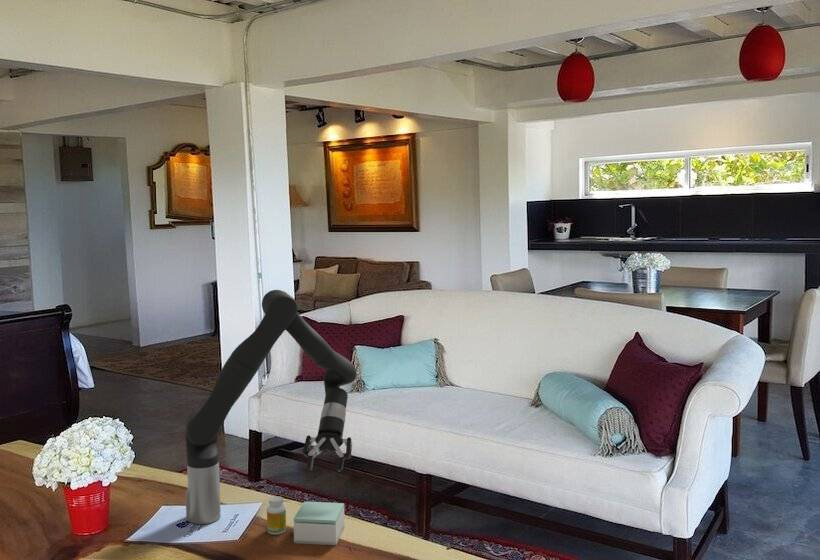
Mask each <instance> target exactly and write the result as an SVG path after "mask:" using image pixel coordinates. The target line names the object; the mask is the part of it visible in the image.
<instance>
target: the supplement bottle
mask: <svg viewBox="0 0 820 560" xmlns="http://www.w3.org/2000/svg"><path fill="white" fill-rule="evenodd" d="M268 504H269V505H268V506H267V508H266V524H267V525H266V526H267V527H266V529H267V533H268V534H269V535H281V534H282V535H283V533H285V532H286V531H287V514H286V513H287V512H286V511H287V509H286V508H287V507H286V505H285V503H284V498H283V496H277V495H276V496H271V497H270V498H268Z"/></svg>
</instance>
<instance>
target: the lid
mask: <svg viewBox="0 0 820 560" xmlns="http://www.w3.org/2000/svg"><path fill="white" fill-rule="evenodd" d="M343 507H344V508H345V503H343V502H326V501H325V502H323V501H321V502H320V501H303V503H302V504H301V506H300V508H299V509H298V511H297V512H296V513H295V516H294V517H293V522H294V521H297V522H318V523H336V522H337V520H338V518H339V516H340V514H341V512H342V510H343Z"/></svg>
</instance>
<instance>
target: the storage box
mask: <svg viewBox="0 0 820 560" xmlns="http://www.w3.org/2000/svg"><path fill="white" fill-rule="evenodd" d="M344 528H345V506H344V507H343V510H342V512H341V514H340V516H339V518H338V520H337V522H336V523H318V522H297V521H294V520H293V544H300V545H301V544H304V545H319V546H320V545H322V546H326V545H327V546H337V545H338V542H339V539H340V537H341V535H342V533H343V531H344Z"/></svg>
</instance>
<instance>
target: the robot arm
mask: <svg viewBox="0 0 820 560" xmlns="http://www.w3.org/2000/svg"><path fill="white" fill-rule="evenodd" d="M261 308H262V311H263V313H264V316H263V318H261V321H260V322H259V324H258V326H257V327H256V329H255V330H254V331H253V332H252V334H250V335H249V336H248V337H246V338H245V339H244V340H243V341H241V343H240V344H238V345H237V347H235V349H234V350H233V351H232V352H231V354H230V355H229V357H228V359H227V360H226V361H225V364H224V363H223V364H224V365H223V366H222V368H221V370H220V372H219V374H218V376H217V378H216V381H215V383H214V386H213V389H212V391H211V392H210V395H209V397H208V398H207V400H206V401H205V403H204V404H203V405H202V407H199V408H196V409H194V410H192V411H191V412H190V413H189V414H188V415H187V418H186V419H185V444H186V445H185V446H186V449H185V451H186V453H185V454H186V465H187V466H186V469H187V470H186V471H187V473H186V474H187V488H186V489H185V517H186V520H185V521H186V522H191V524H194V525H195V524H196V525H206V524H211V523H214V522H216V521H218V520H219V519H220V518H221V486H220V485H221V484H220V483H221V480H220V456H219V455H220V453H219V452H220V451H219V440H218V436H219V435H218V434H219V432H220V430H221V428H222V426H223V424H224V422H225V420H226V418H227V416H228V415H229V413H230V411H231V409H232V408H233V406H234V405H235V403H237V401H238V400H239V399H240V397H241V396H242V394H243V393H244V392H245V390H246V388H247V387H248V385H249V384H250V383H251V381H252V380H253V378H254V377H255V375H256V374H257V373H258V372H259V369H260V368H261V365H263V363H264V361H265V359H266V358H267V356H268V355H269V353H270V352H271V350H272V348H273V347H274V345H275V344H276V343H277V341H278V339H280V337H281V336H282V334H283V333H284V332H285V331H286V332H287V333H288V334H289V335H290V336H291V337H292V338H293V340H294V341H295V342H296V343H297V344H298V345H299V346H300V348H301V349H302V350H303V351H304V353H305V354H306V355H307V356H308V358H310V360H312V362H313V363H314V364H315V365H316V366H317V367H318V368H320V369H326V370H325V371H324V374H323V385H324V394H325V397H324V402H323V407H322V410H321V414H320V419H319V426H318V431H317V435H316V436H311V435H310V434H309V435H307V436H306V438H305V441H304V446H303V450H302V453H303V456H304V457H305V458H307V462H306V467H307V469H308V470H309V471H313V465H314V463H315V462H314V461H315V458H316V457H317V456H318V455H320V454H321V452H322V453H331V454H334V453H336V455H337V456H338V459H337V465H336V471H337V473H341V471H343V470H344V462H345V460H350V459H352V450H353V440H352V437H349V436H348V437H347V438H343V436H344V428H345V423H346V417H347V416H346V415H347V414H346V412H347V411H346V410H347V404H348V398H349V397H348V396H349V394H348V392H347V391H346V390H345V389H343V388H341V387H342V386H346V385H348V384H351V383H353V382H354V381H355V380H356V379H357V377H358V376H357V375H358V374H357V369H356V367H355V366H354V364H353V363H352V361H350V360H349V359H348V358H347V357H345V356H343V355H341V354H340V353H338V352H336V351H335V350H334V349H333V348H332V347H331V346H330V344H328V342H327V341H326V340H325V339H324V338H323V337H322V336H321V335H320V334H319V333H318V331H316V330H315V329H314V328H313V327H311V325H309V323H307V321H306V320H305V319H304V318H303V316H301V315H300V313H299V312H298V308H299V307H298V304H297V301H296V299H295V298H294V297H293V296H291V295H290V294H289V293H287V292H286V291H284V290H281V289H273V290H269V291H268V292H266V294H264V296H263V297H262V301H261ZM314 443H315V445H314V446H313V448H312V449H311V445H313V444H314ZM343 444H344V446H345V448H346V450H345V453H343V452H342V450H341V448H340V447H341V446H342V445H343Z"/></svg>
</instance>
